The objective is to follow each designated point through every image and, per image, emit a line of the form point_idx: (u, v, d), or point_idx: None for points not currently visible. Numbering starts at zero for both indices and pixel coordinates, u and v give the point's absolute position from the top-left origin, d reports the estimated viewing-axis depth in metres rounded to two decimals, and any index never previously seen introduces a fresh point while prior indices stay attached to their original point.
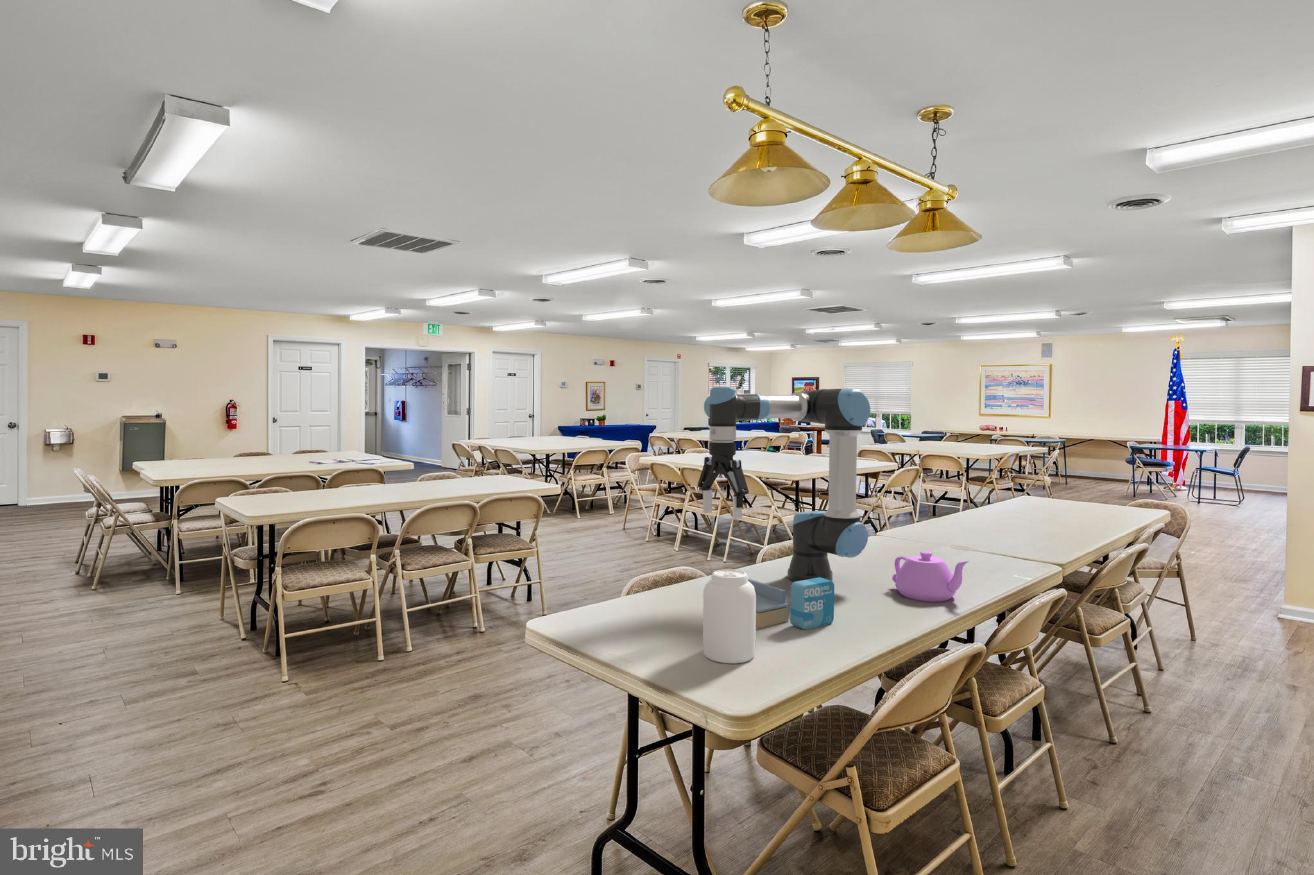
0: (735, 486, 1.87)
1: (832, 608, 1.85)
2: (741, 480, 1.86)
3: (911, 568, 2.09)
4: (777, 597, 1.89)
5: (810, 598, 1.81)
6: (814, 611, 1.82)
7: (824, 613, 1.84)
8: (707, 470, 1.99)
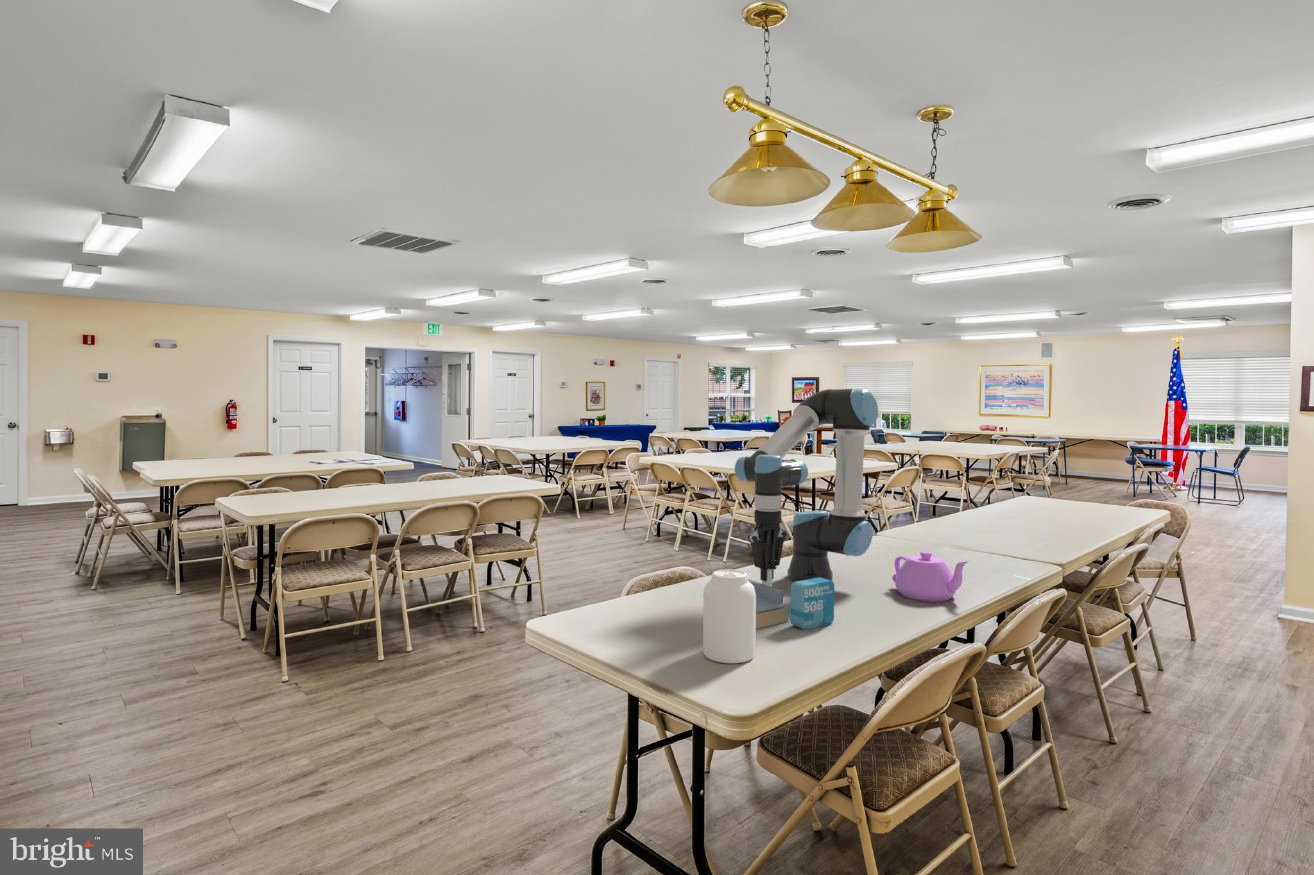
0: None
1: (832, 608, 1.85)
2: (755, 555, 1.91)
3: (911, 568, 2.09)
4: (775, 598, 1.88)
5: (810, 598, 1.81)
6: (814, 611, 1.82)
7: (824, 613, 1.84)
8: (776, 543, 1.96)
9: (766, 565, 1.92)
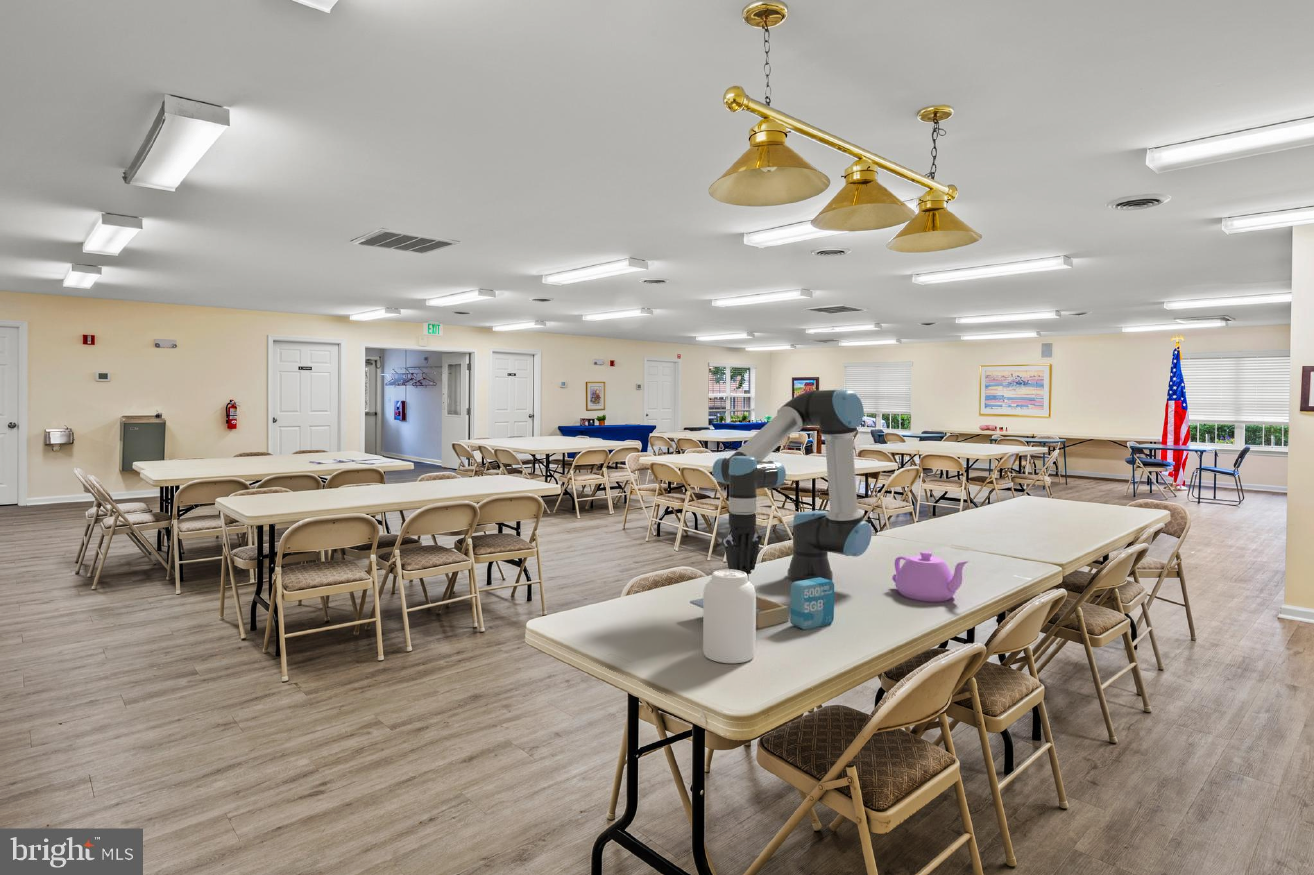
0: None
1: (832, 608, 1.85)
2: (729, 559, 1.86)
3: (911, 568, 2.09)
4: None
5: (810, 598, 1.81)
6: (814, 611, 1.82)
7: (824, 613, 1.84)
8: (751, 547, 1.91)
9: (740, 569, 1.87)
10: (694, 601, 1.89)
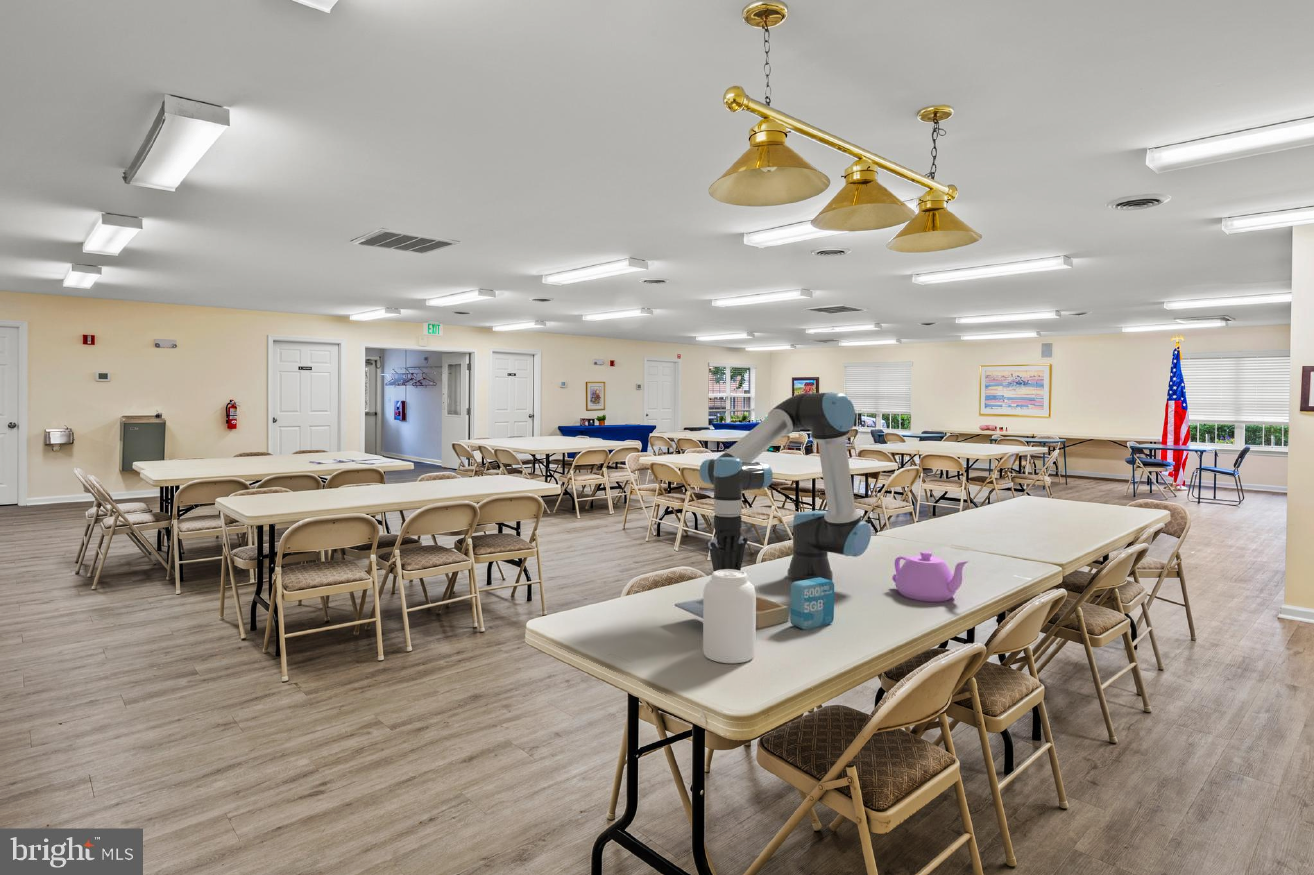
0: None
1: (832, 608, 1.85)
2: (714, 562, 1.83)
3: (911, 568, 2.09)
4: None
5: (810, 598, 1.81)
6: (814, 611, 1.82)
7: (824, 613, 1.84)
8: (737, 550, 1.88)
9: None
10: (679, 604, 1.87)
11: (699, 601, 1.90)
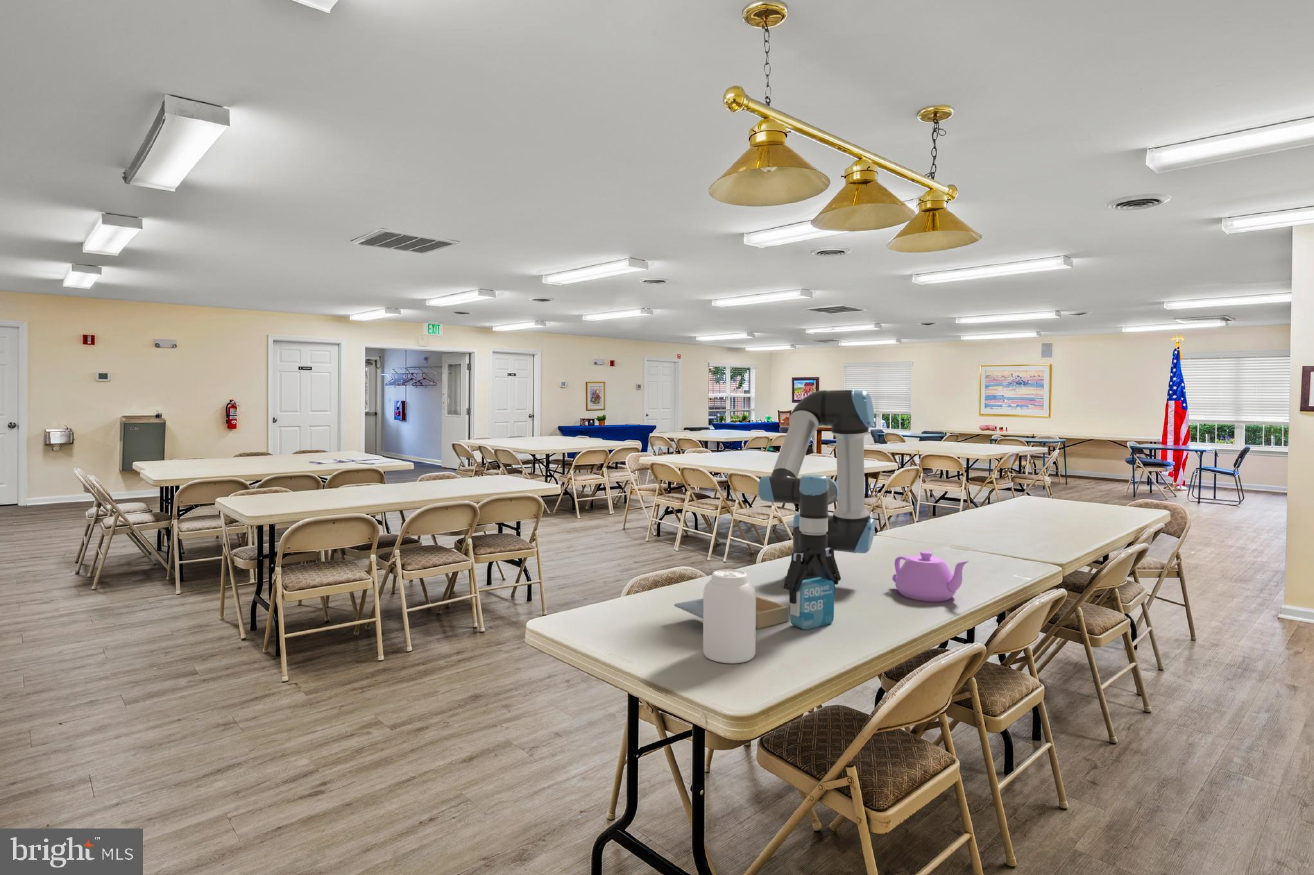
0: None
1: (832, 608, 1.85)
2: (789, 575, 1.80)
3: (911, 568, 2.09)
4: None
5: (810, 598, 1.81)
6: (814, 611, 1.82)
7: (824, 613, 1.84)
8: (828, 562, 1.88)
9: (797, 587, 1.79)
10: (679, 604, 1.86)
11: (698, 601, 1.90)
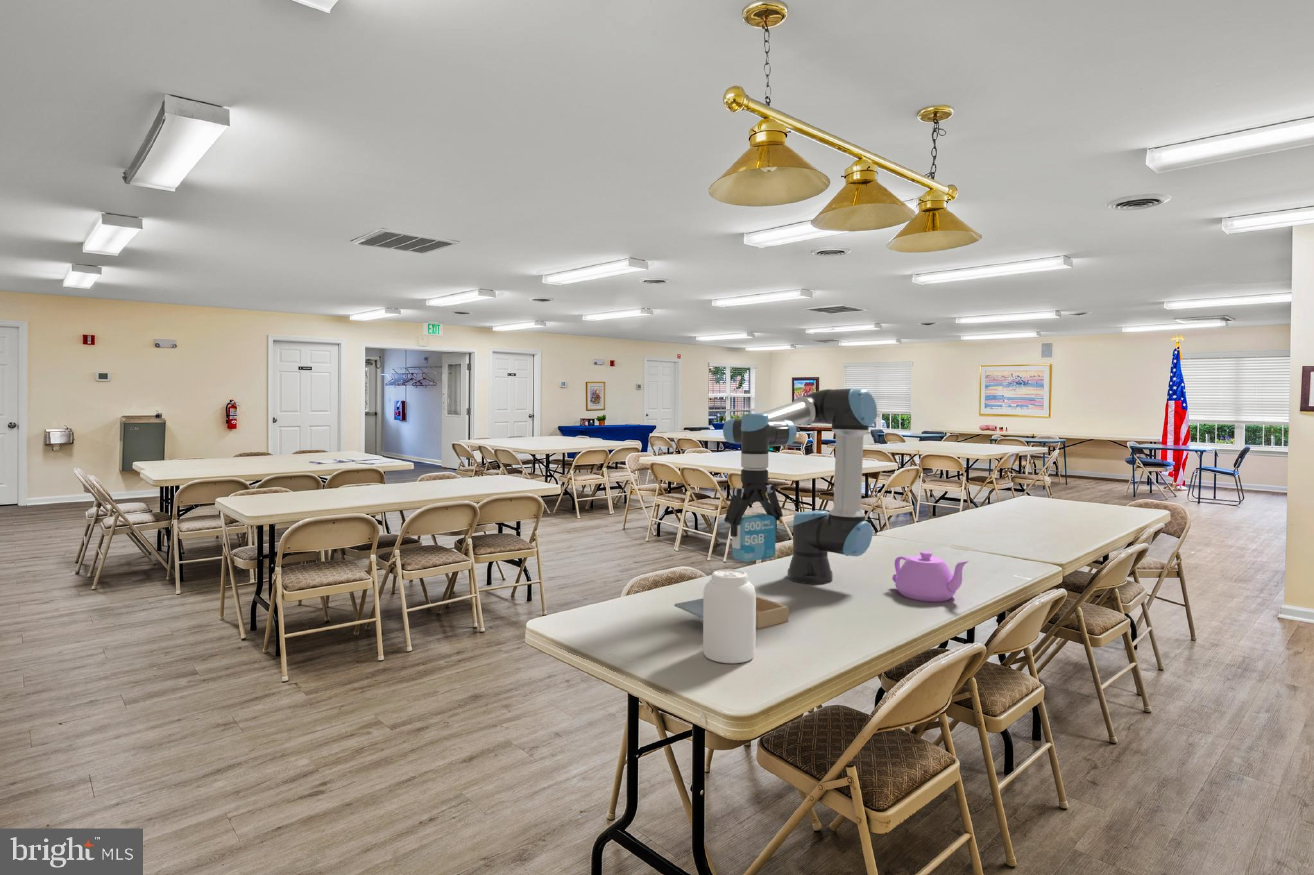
0: None
1: (773, 542, 1.91)
2: (730, 508, 1.85)
3: (911, 568, 2.09)
4: None
5: (751, 531, 1.87)
6: (755, 544, 1.88)
7: (765, 547, 1.90)
8: (770, 498, 1.94)
9: (737, 520, 1.85)
10: (679, 604, 1.86)
11: (698, 601, 1.90)
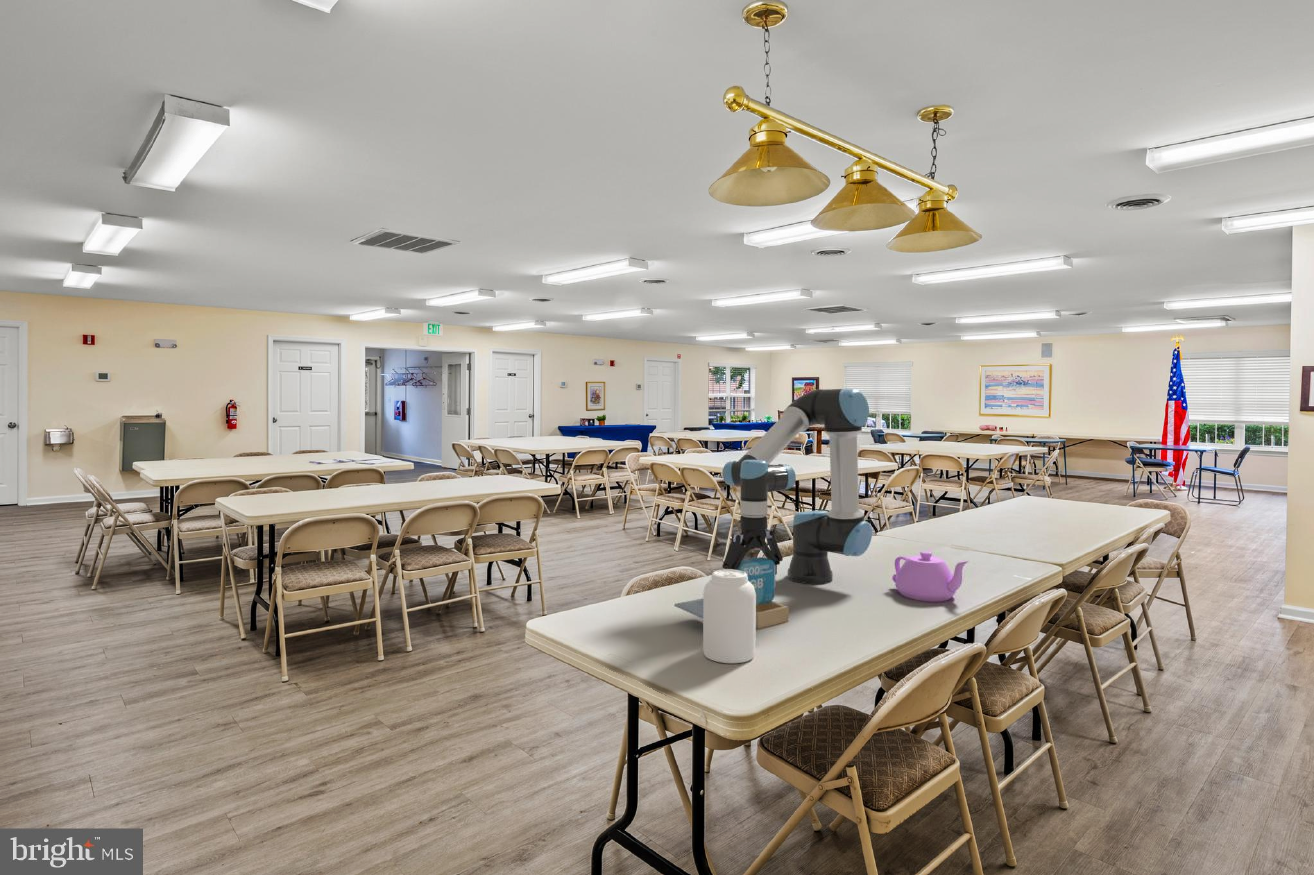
0: None
1: (772, 586, 1.92)
2: (728, 555, 1.86)
3: (911, 568, 2.09)
4: None
5: (750, 576, 1.88)
6: None
7: (764, 591, 1.90)
8: (770, 543, 1.94)
9: (735, 567, 1.86)
10: (679, 604, 1.86)
11: (698, 601, 1.90)
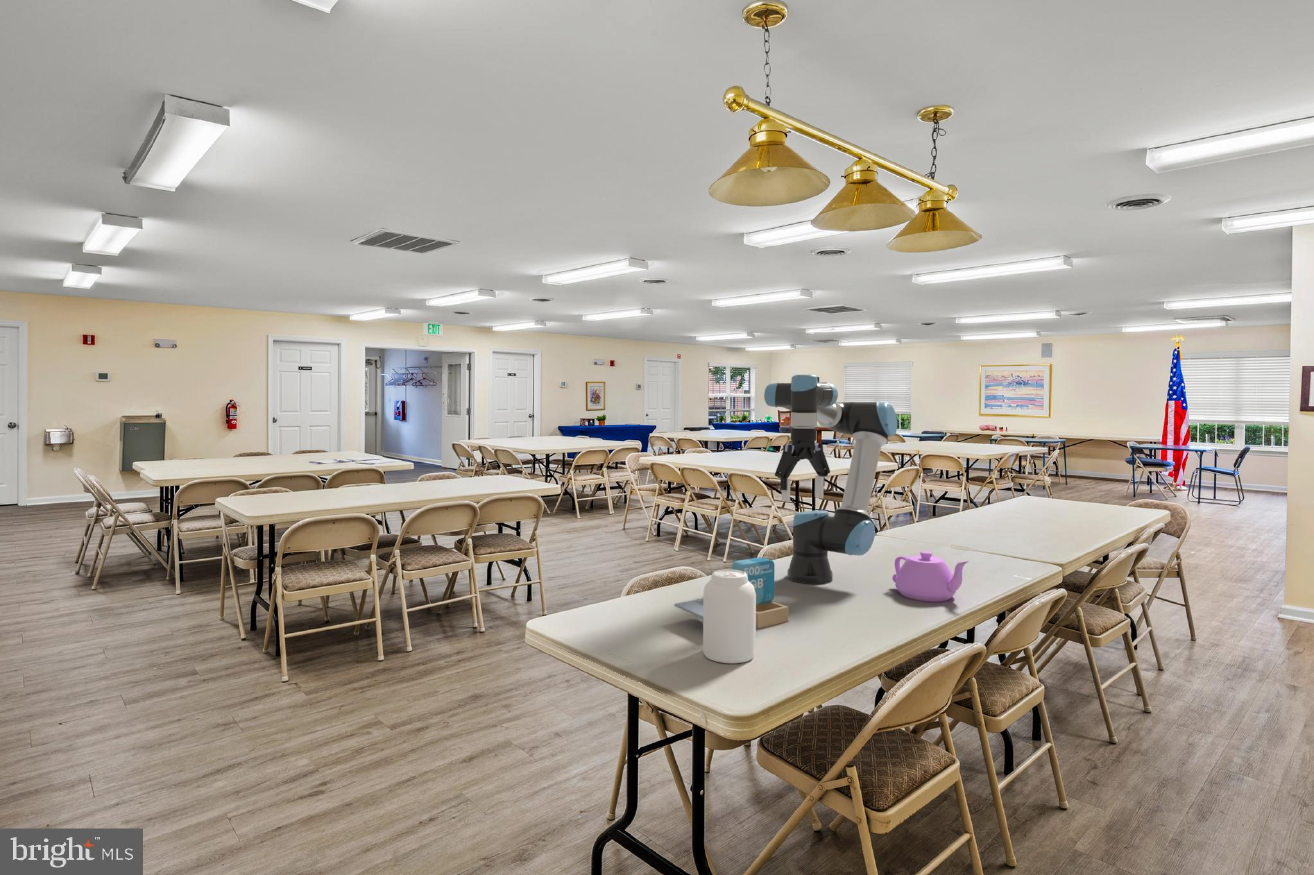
0: None
1: (772, 586, 1.92)
2: (781, 463, 1.95)
3: (911, 568, 2.09)
4: None
5: (750, 576, 1.88)
6: None
7: (764, 591, 1.90)
8: (818, 456, 2.03)
9: (787, 475, 1.95)
10: (679, 604, 1.86)
11: (698, 601, 1.90)
